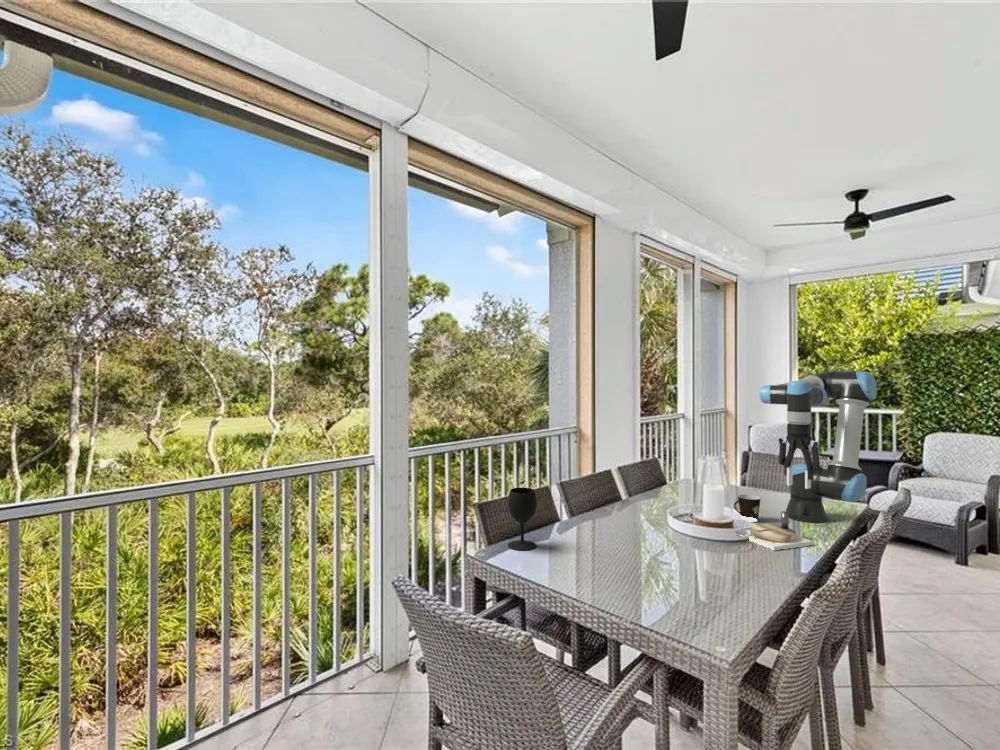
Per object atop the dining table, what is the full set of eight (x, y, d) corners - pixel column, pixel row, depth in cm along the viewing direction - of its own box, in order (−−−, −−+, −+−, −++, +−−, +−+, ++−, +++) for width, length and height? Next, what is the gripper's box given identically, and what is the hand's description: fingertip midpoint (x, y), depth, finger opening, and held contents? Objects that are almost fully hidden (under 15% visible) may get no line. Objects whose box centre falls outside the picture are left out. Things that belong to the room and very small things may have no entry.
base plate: (771, 530, 197) (771, 526, 197) (812, 545, 180) (812, 540, 180) (734, 535, 192) (734, 530, 192) (774, 550, 175) (774, 545, 175)
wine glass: (542, 545, 179) (542, 490, 179) (523, 553, 172) (524, 495, 172) (520, 539, 186) (520, 485, 186) (501, 546, 179) (501, 490, 179)
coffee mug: (755, 517, 215) (755, 494, 215) (764, 523, 206) (764, 499, 206) (727, 517, 216) (727, 494, 216) (734, 523, 207) (734, 499, 207)
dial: (771, 527, 196) (771, 506, 196) (805, 539, 181) (805, 517, 181) (740, 530, 191) (740, 510, 191) (773, 543, 177) (773, 521, 177)
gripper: (832, 424, 177) (831, 490, 177) (778, 420, 192) (778, 480, 192) (821, 426, 173) (821, 493, 173) (767, 421, 188) (767, 483, 188)
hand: (798, 486), depth 182 cm, fingers open, 6 cm apart
